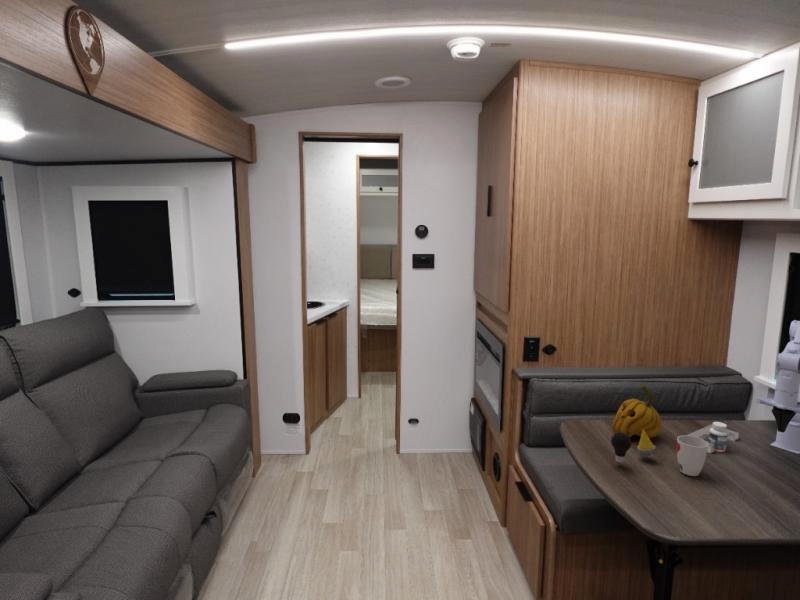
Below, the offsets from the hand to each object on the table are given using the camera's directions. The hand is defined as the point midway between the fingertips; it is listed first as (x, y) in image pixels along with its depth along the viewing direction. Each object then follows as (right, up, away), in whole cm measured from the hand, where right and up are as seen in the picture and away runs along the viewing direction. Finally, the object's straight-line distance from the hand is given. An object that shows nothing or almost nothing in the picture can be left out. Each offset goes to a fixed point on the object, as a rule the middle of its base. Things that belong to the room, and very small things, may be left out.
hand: (781, 431), depth 152 cm
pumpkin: (-42, -8, +19) cm, 47 cm away
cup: (-33, -11, -5) cm, 35 cm away
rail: (-12, -8, +16) cm, 22 cm away
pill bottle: (-14, -9, +11) cm, 20 cm away
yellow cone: (-41, -10, +4) cm, 42 cm away
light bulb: (-52, -10, 0) cm, 53 cm away
